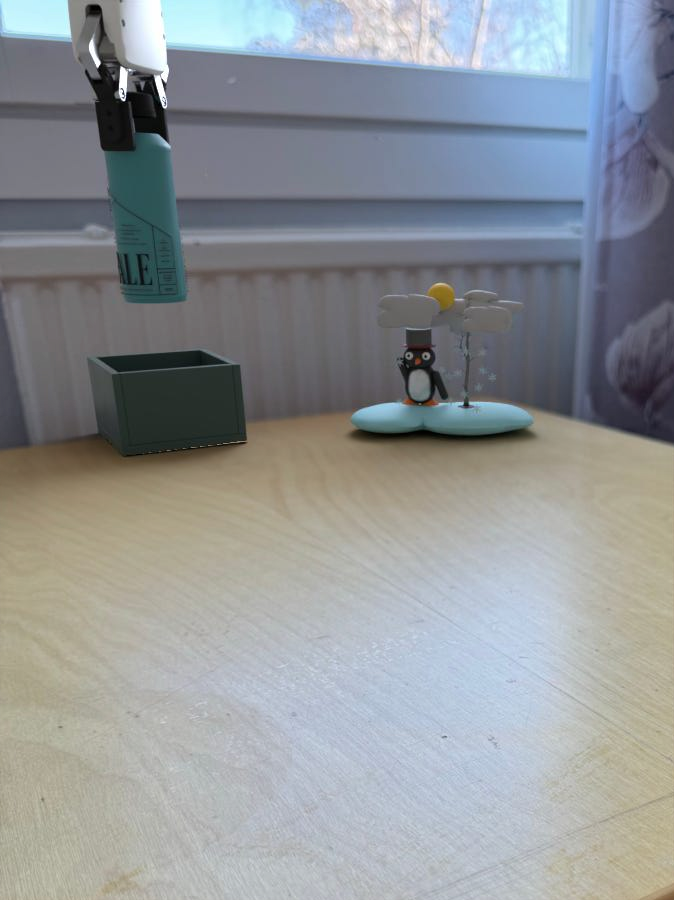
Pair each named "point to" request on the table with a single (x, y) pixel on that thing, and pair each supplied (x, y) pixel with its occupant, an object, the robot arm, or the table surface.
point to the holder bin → (167, 400)
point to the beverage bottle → (146, 215)
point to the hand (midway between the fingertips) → (136, 150)
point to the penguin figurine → (423, 380)
